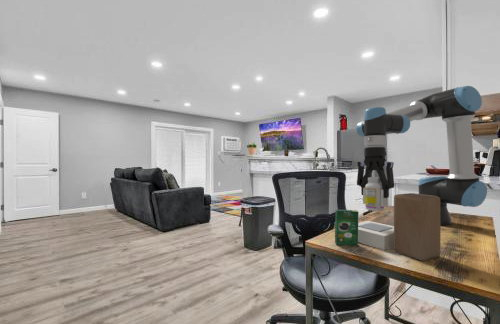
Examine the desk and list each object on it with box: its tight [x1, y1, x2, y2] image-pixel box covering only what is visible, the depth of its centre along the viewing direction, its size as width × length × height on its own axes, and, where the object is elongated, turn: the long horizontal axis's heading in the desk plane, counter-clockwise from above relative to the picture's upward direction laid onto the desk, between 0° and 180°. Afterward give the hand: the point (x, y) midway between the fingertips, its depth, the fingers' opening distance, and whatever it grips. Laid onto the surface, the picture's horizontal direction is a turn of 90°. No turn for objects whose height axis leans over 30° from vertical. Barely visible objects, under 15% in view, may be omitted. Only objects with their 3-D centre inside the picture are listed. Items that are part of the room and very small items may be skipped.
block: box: [393, 192, 441, 262], centre depth 82 cm, size 10×10×20 cm
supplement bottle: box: [364, 176, 385, 212], centre depth 97 cm, size 7×7×13 cm
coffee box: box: [334, 209, 360, 247], centre depth 92 cm, size 8×3×13 cm, turn 82°
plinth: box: [358, 220, 394, 251], centre depth 97 cm, size 16×16×5 cm
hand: (374, 204), depth 97 cm, fingers closed on supplement bottle, 7 cm apart
